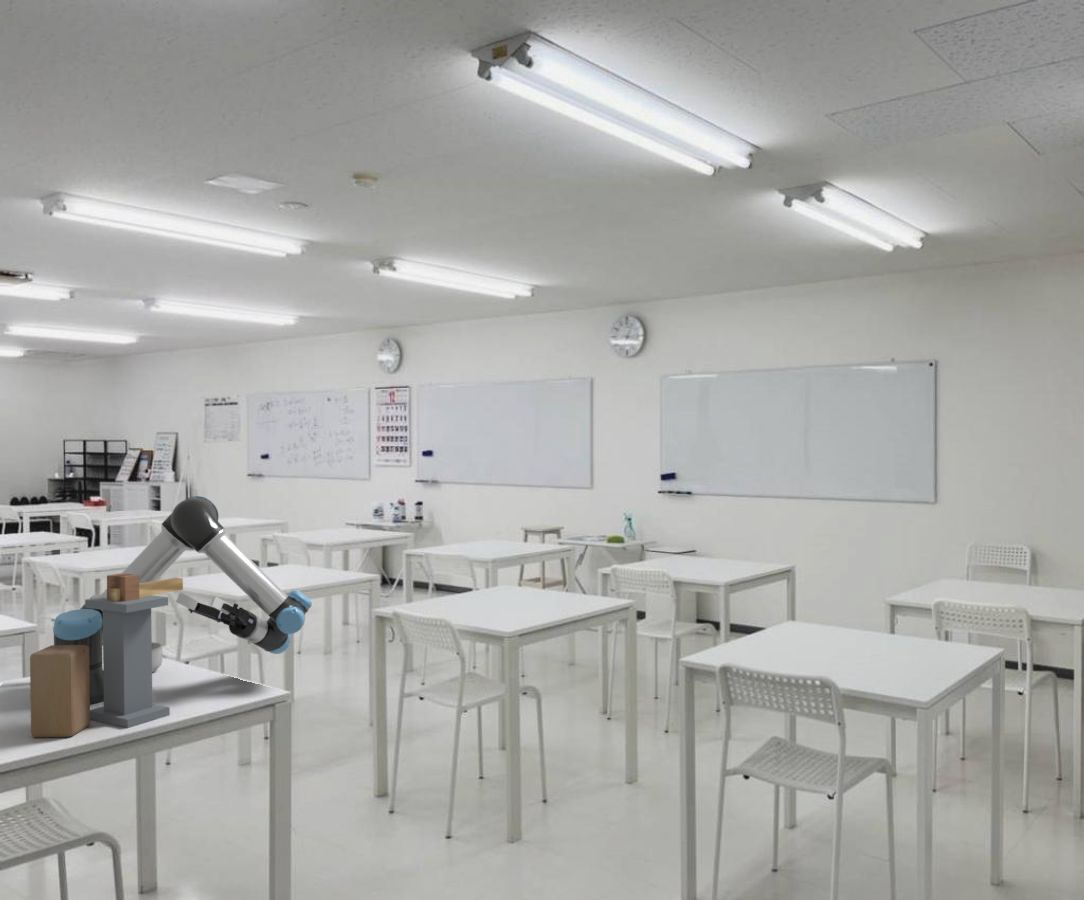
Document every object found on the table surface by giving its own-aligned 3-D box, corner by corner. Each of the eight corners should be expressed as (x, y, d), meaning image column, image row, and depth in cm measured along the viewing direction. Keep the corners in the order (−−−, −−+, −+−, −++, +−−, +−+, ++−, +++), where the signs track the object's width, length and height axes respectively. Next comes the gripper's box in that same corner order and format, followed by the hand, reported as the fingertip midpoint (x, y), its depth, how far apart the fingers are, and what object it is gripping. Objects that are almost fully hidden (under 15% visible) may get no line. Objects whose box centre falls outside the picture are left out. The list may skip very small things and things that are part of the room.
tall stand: (86, 718, 232) (85, 599, 231) (128, 706, 242) (127, 592, 242) (127, 727, 224) (126, 604, 224) (169, 714, 234) (168, 597, 234)
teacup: (170, 670, 280) (170, 644, 280) (138, 678, 271) (137, 651, 271) (142, 665, 288) (141, 639, 288) (110, 672, 279) (109, 646, 279)
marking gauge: (103, 599, 231) (103, 575, 231) (170, 588, 248) (169, 566, 248) (121, 601, 228) (121, 577, 227) (188, 590, 245) (187, 567, 245)
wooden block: (91, 725, 226) (90, 643, 226) (72, 738, 216) (71, 653, 216) (50, 725, 226) (49, 644, 226) (29, 739, 216) (28, 653, 216)
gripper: (274, 642, 259) (222, 616, 243) (212, 634, 271) (159, 608, 255) (284, 617, 262) (233, 589, 246) (222, 610, 275) (170, 583, 259)
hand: (195, 599), depth 251 cm, fingers open, 13 cm apart
